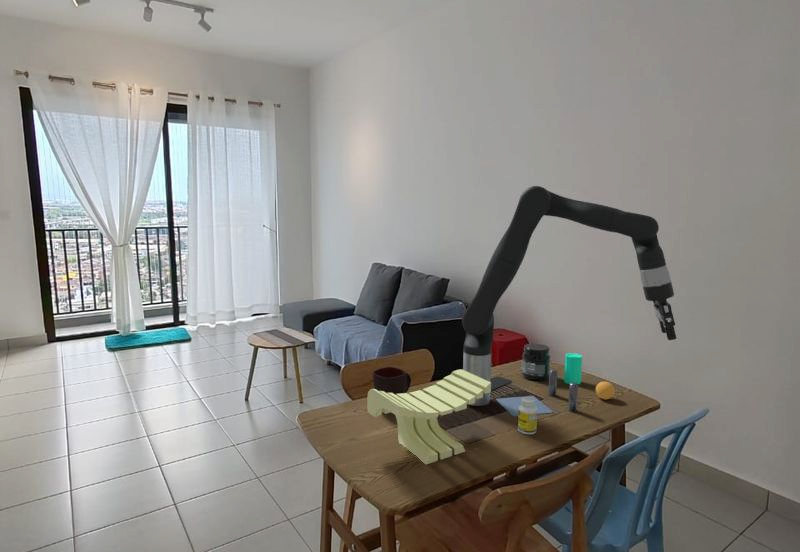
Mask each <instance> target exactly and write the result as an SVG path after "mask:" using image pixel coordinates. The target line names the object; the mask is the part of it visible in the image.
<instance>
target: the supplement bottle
mask: <svg viewBox="0 0 800 552" xmlns="http://www.w3.org/2000/svg"><path fill="white" fill-rule="evenodd" d="M522 397H523V398H521V405H520V406H519V410H518V416H517V418H518V419H517V431H519V432H520V433H521V434H524V435H534V434H536V433H537V428H538V426H537V425H538V414H537V407H536V406H535V399H534V398H532V397H524V396H522Z"/></svg>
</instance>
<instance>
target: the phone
mask: <svg viewBox="0 0 800 552" xmlns="http://www.w3.org/2000/svg"><path fill="white" fill-rule="evenodd" d="M490 382H491V392H493V391H495V390H498V389H500V388H501V387H504V386H507V385H510V384H511V383H513V380H511V379H508V378H505V377H502V376H494V377H491V380H490Z"/></svg>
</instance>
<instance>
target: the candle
mask: <svg viewBox="0 0 800 552" xmlns="http://www.w3.org/2000/svg"><path fill="white" fill-rule="evenodd" d="M564 357H565V359H564V376H563V377H564V379H563V382H564V383H565V384H568V385H570V383H572V382H574V383H577V384H579V385H581V384H582V368H583V355H582V354H581V355H580V354H579V353H572V352H568V353H566V354H565V356H564ZM580 383H581V384H580Z"/></svg>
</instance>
